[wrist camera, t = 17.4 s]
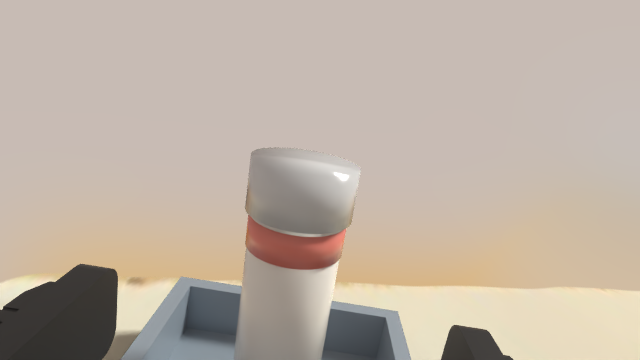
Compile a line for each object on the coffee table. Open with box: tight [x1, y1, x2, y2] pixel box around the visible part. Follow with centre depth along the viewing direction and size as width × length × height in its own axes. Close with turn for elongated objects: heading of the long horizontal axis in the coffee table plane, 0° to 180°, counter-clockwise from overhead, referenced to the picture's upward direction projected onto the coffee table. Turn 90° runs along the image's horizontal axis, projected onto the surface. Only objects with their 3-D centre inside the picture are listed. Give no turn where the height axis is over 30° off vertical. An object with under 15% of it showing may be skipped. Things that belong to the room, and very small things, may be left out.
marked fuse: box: [233, 148, 361, 360], centre depth 16 cm, size 4×4×12 cm
